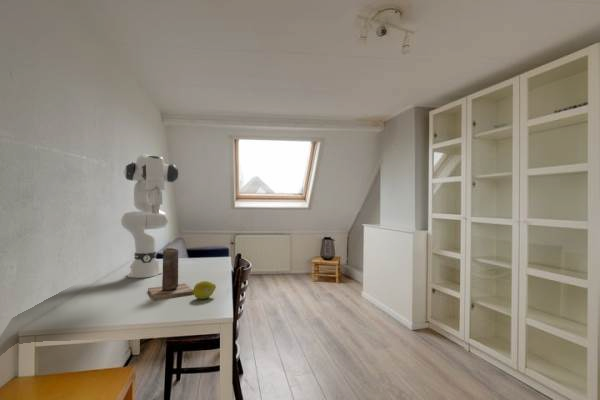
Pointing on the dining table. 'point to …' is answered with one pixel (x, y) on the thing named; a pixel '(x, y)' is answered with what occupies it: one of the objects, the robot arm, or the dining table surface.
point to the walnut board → (170, 292)
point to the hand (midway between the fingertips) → (155, 213)
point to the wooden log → (170, 269)
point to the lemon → (203, 289)
